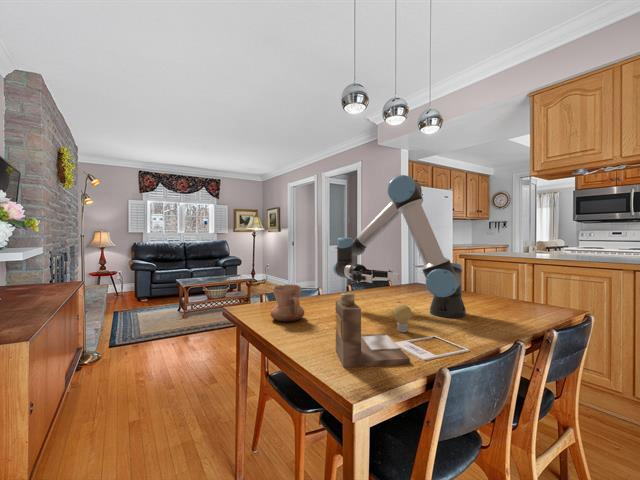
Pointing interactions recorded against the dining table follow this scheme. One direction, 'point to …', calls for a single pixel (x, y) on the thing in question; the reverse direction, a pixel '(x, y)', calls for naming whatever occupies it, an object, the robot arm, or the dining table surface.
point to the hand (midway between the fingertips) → (385, 278)
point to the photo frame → (423, 353)
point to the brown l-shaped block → (362, 339)
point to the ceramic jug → (287, 303)
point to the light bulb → (402, 317)
